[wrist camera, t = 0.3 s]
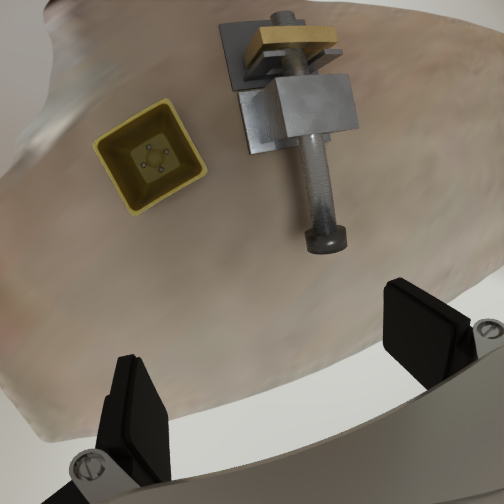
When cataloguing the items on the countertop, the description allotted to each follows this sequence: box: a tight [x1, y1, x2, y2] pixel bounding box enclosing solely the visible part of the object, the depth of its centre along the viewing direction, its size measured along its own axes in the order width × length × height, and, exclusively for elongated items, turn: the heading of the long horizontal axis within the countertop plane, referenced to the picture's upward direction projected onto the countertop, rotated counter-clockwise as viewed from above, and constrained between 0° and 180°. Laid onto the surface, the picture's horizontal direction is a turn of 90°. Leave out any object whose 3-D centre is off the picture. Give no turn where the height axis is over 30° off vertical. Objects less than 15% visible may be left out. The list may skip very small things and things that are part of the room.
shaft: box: [270, 11, 347, 254], centre depth 32 cm, size 28×5×5 cm, turn 11°
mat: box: [219, 20, 318, 91], centre depth 35 cm, size 10×12×1 cm
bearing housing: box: [237, 74, 359, 154], centre depth 33 cm, size 8×11×11 cm
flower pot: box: [92, 98, 208, 217], centre depth 32 cm, size 9×9×9 cm
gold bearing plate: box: [243, 26, 338, 67], centre depth 30 cm, size 2×8×8 cm, turn 101°
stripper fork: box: [243, 49, 343, 82], centre depth 31 cm, size 1×9×10 cm, turn 102°
